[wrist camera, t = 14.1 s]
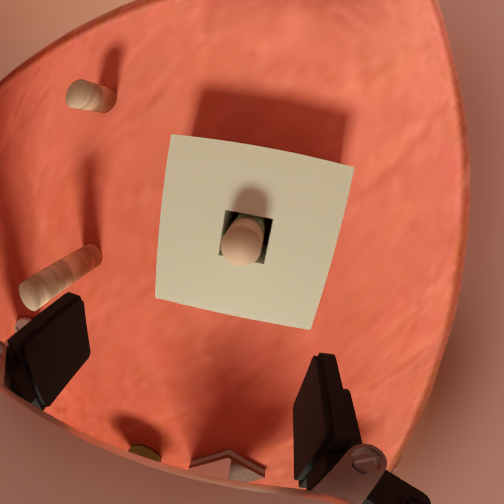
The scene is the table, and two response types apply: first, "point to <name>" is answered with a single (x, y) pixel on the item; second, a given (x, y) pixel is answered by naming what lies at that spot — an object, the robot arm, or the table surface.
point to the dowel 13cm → (58, 276)
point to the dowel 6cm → (90, 96)
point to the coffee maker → (227, 467)
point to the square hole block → (254, 203)
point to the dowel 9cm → (243, 239)
